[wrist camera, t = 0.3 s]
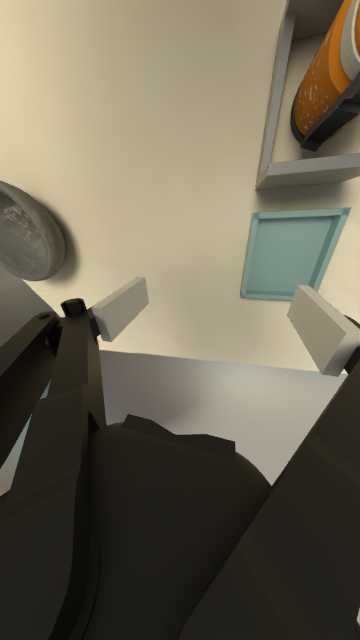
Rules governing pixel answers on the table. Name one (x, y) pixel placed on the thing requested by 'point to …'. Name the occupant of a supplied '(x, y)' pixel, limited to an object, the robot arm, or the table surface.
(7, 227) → the bowl
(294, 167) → the dock
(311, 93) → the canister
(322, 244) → the tray
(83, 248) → the table surface
